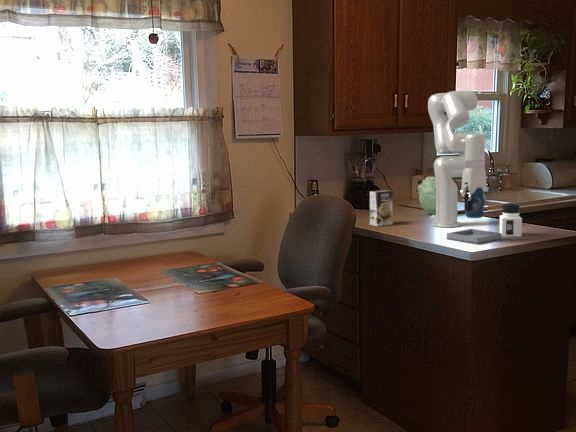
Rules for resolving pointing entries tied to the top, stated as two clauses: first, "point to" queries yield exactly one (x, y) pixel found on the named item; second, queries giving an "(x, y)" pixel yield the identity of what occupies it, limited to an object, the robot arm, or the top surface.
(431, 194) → the cabbage
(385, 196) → the coffee box
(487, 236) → the tray
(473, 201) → the soda can
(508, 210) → the container
